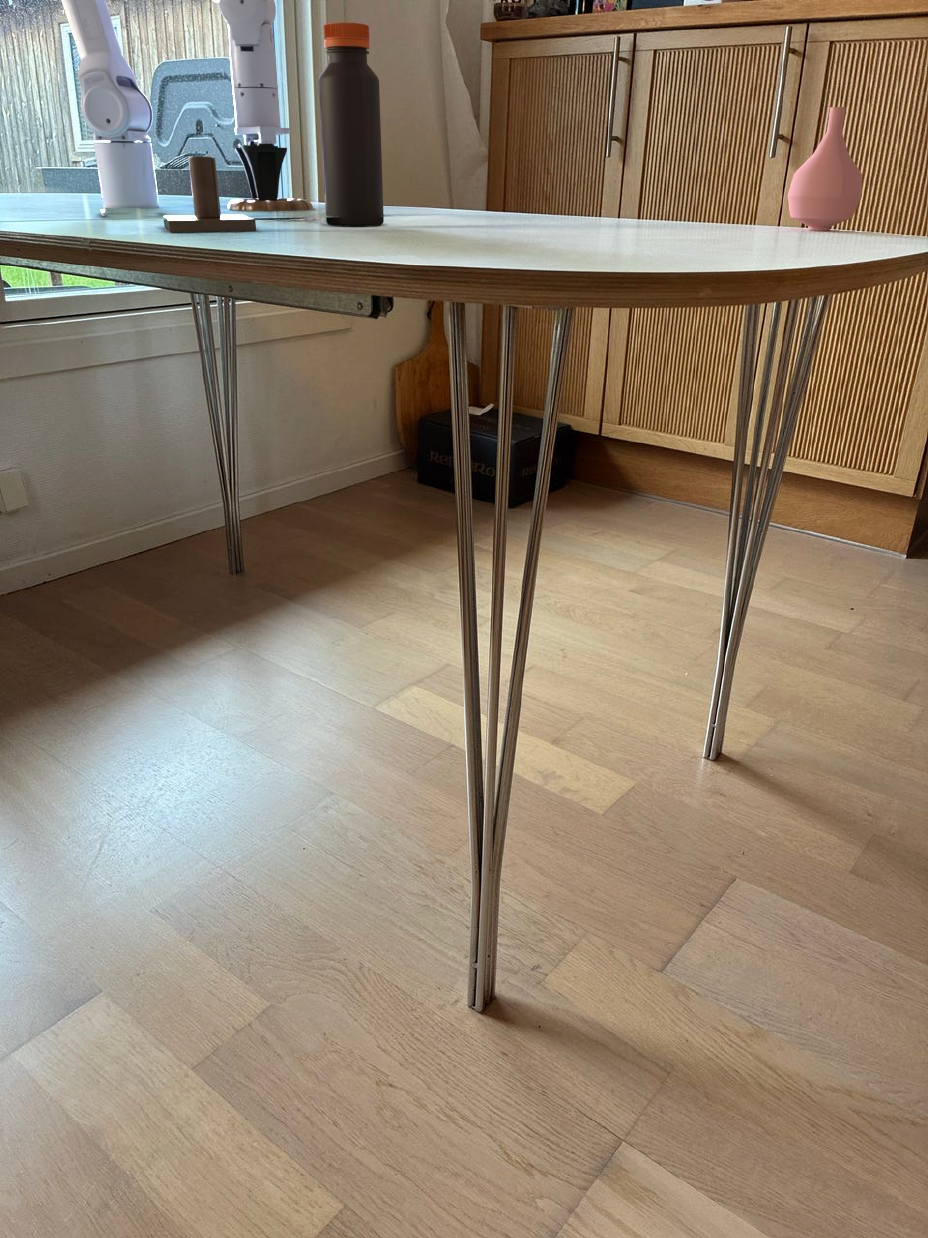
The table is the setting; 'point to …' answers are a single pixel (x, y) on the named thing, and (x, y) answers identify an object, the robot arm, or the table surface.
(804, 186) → the pink vase
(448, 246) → the table surface
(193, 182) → the wooden peg stand
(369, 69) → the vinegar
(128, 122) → the robot arm
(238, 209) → the scalloped wooden ring
